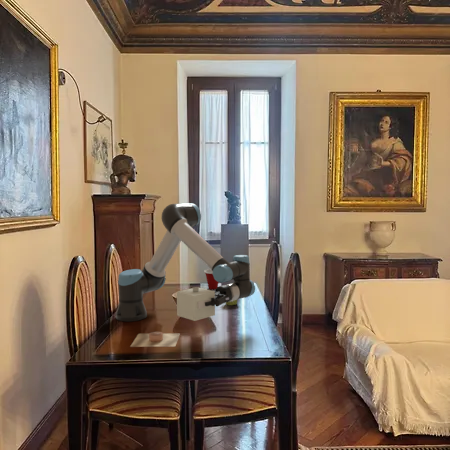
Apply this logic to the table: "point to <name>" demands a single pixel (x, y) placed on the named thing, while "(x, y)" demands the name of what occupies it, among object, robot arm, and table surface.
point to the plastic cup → (211, 279)
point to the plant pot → (232, 302)
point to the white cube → (194, 303)
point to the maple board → (143, 341)
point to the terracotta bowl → (156, 336)
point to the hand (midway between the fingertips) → (188, 302)
